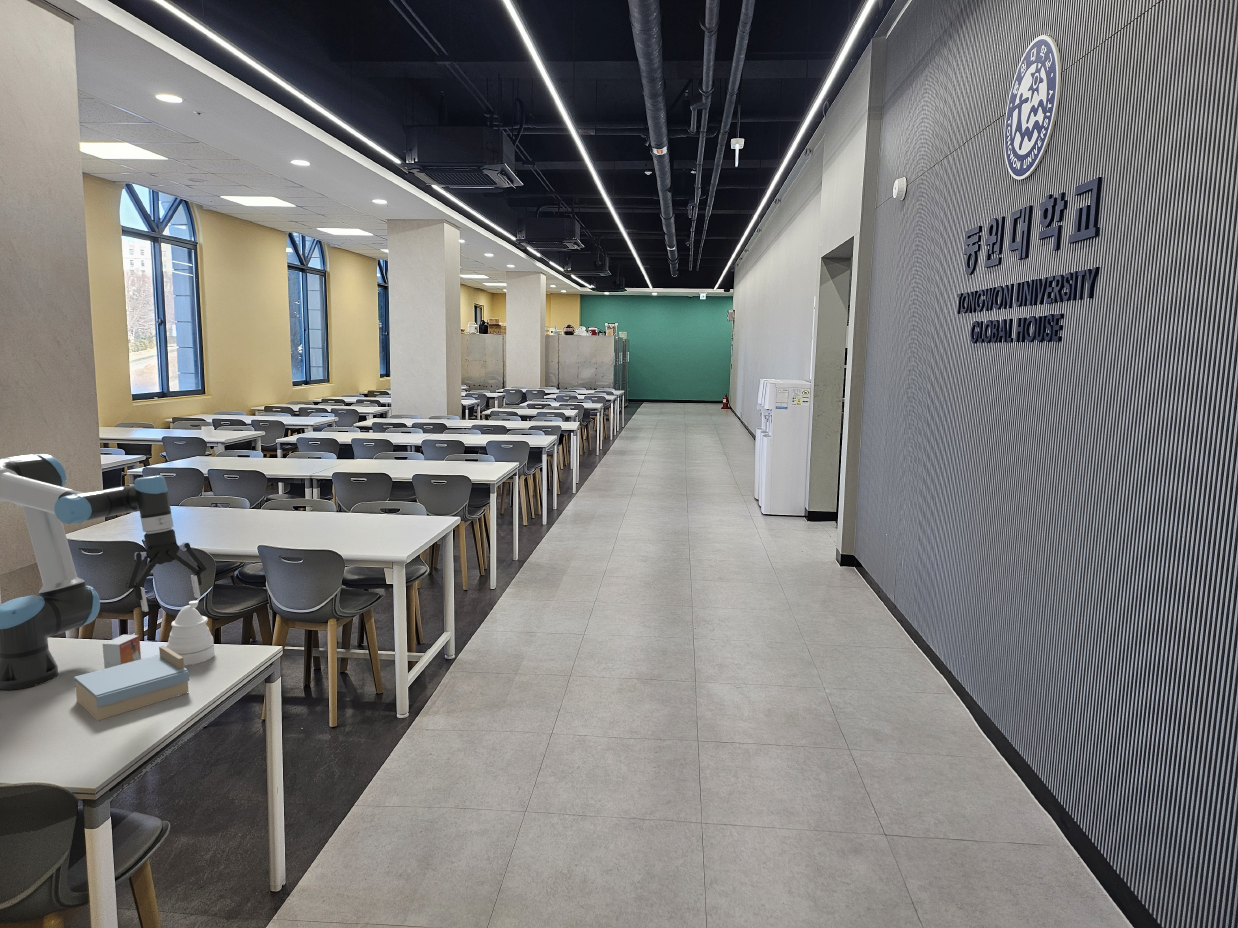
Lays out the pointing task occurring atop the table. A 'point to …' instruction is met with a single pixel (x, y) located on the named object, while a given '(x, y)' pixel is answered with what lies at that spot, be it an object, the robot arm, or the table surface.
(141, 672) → the lid
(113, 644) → the small box
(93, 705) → the tray
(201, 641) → the honey pot
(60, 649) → the table surface
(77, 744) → the table surface
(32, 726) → the table surface
